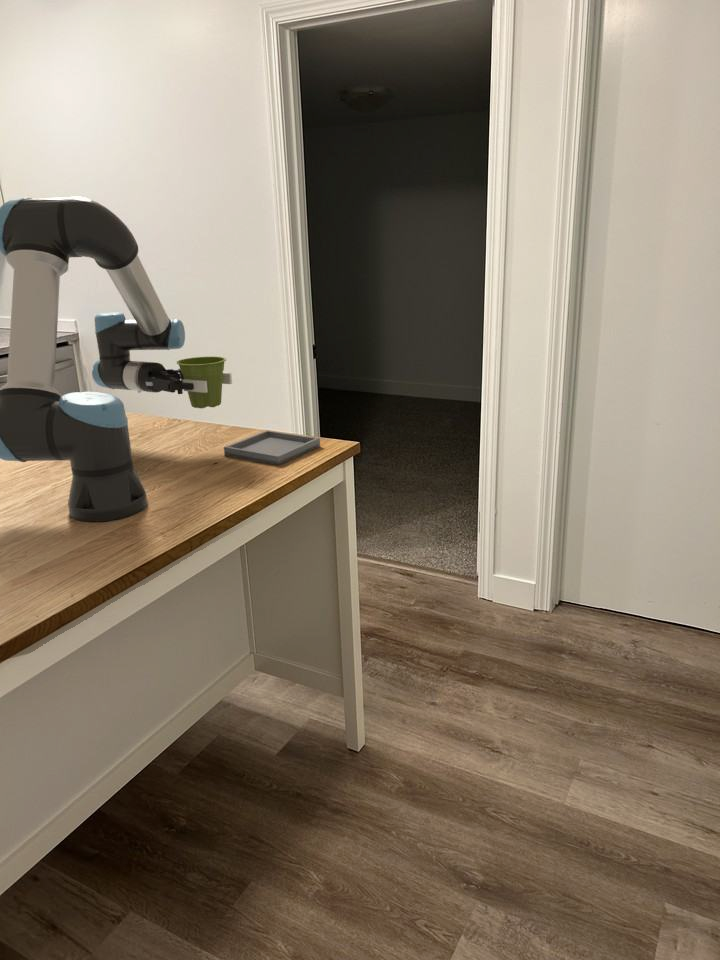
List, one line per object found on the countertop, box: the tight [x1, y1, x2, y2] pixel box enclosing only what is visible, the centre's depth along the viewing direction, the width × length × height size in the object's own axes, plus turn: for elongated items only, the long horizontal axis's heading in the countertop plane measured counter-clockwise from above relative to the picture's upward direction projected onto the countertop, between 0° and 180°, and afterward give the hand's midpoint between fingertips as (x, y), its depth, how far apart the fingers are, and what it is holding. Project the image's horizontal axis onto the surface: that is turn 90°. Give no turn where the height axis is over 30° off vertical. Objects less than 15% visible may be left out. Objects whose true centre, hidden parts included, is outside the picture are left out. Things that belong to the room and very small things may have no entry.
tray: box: [223, 429, 321, 466], centre depth 181 cm, size 17×17×2 cm
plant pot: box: [176, 356, 227, 409], centre depth 176 cm, size 12×12×11 cm
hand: (218, 382), depth 174 cm, fingers closed on plant pot, 9 cm apart
